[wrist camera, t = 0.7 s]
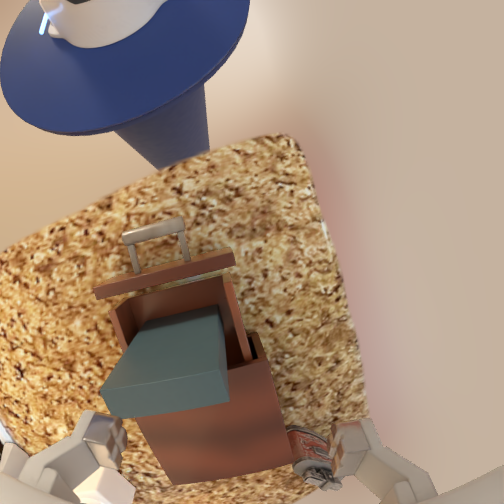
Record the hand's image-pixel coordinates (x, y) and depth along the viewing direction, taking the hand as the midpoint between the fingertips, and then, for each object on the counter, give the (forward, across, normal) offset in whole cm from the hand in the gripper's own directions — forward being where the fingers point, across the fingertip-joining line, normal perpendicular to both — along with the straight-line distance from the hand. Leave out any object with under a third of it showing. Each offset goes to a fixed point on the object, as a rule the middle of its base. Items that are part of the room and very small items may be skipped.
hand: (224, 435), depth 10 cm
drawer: (+22, +6, +6) cm, 23 cm away
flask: (+13, +39, +36) cm, 55 cm away
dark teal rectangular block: (+20, +5, +7) cm, 22 cm away
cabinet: (+20, +3, +18) cm, 27 cm away
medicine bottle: (+15, +21, +36) cm, 44 cm away
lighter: (+20, -10, +26) cm, 34 cm away
